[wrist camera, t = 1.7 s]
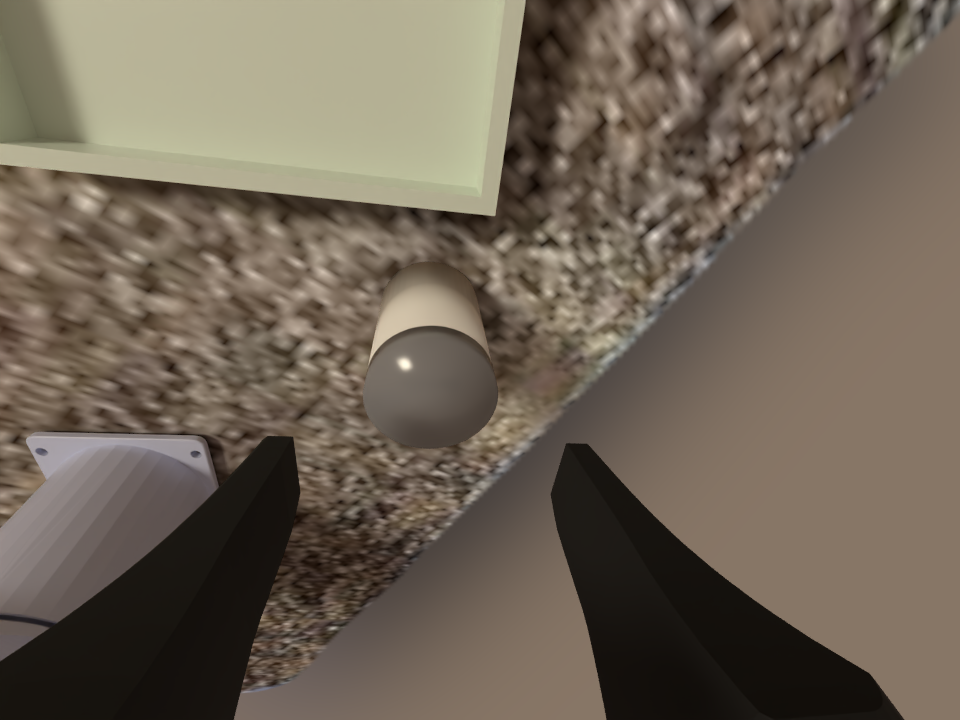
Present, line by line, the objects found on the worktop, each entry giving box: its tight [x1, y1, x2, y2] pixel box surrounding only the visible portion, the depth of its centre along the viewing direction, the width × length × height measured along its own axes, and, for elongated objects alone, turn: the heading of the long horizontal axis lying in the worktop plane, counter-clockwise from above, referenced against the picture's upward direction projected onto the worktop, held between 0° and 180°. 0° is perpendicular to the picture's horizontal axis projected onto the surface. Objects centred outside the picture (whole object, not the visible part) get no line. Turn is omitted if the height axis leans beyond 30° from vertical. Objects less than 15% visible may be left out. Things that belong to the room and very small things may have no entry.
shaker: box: [363, 262, 498, 449], centre depth 17 cm, size 4×4×7 cm
